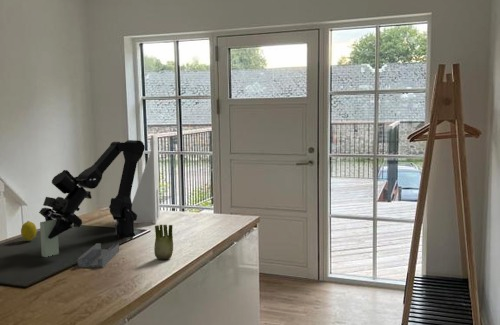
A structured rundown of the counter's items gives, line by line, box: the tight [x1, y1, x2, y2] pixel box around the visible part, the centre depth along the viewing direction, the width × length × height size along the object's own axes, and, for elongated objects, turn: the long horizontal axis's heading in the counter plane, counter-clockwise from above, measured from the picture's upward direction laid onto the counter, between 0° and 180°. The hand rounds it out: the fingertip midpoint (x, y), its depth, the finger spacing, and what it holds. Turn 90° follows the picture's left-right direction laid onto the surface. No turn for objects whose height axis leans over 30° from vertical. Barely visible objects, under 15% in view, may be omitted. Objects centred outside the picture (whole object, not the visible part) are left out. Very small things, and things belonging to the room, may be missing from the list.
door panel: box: [39, 220, 60, 258], centre depth 163 cm, size 5×2×12 cm, turn 144°
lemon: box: [20, 220, 37, 242], centre depth 181 cm, size 6×6×8 cm
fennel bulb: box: [153, 224, 174, 260], centre depth 157 cm, size 6×5×12 cm
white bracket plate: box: [131, 133, 160, 226], centre depth 216 cm, size 20×14×40 cm
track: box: [77, 242, 120, 269], centre depth 158 cm, size 18×8×3 cm, turn 179°
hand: (45, 237), depth 161 cm, fingers open, 4 cm apart
